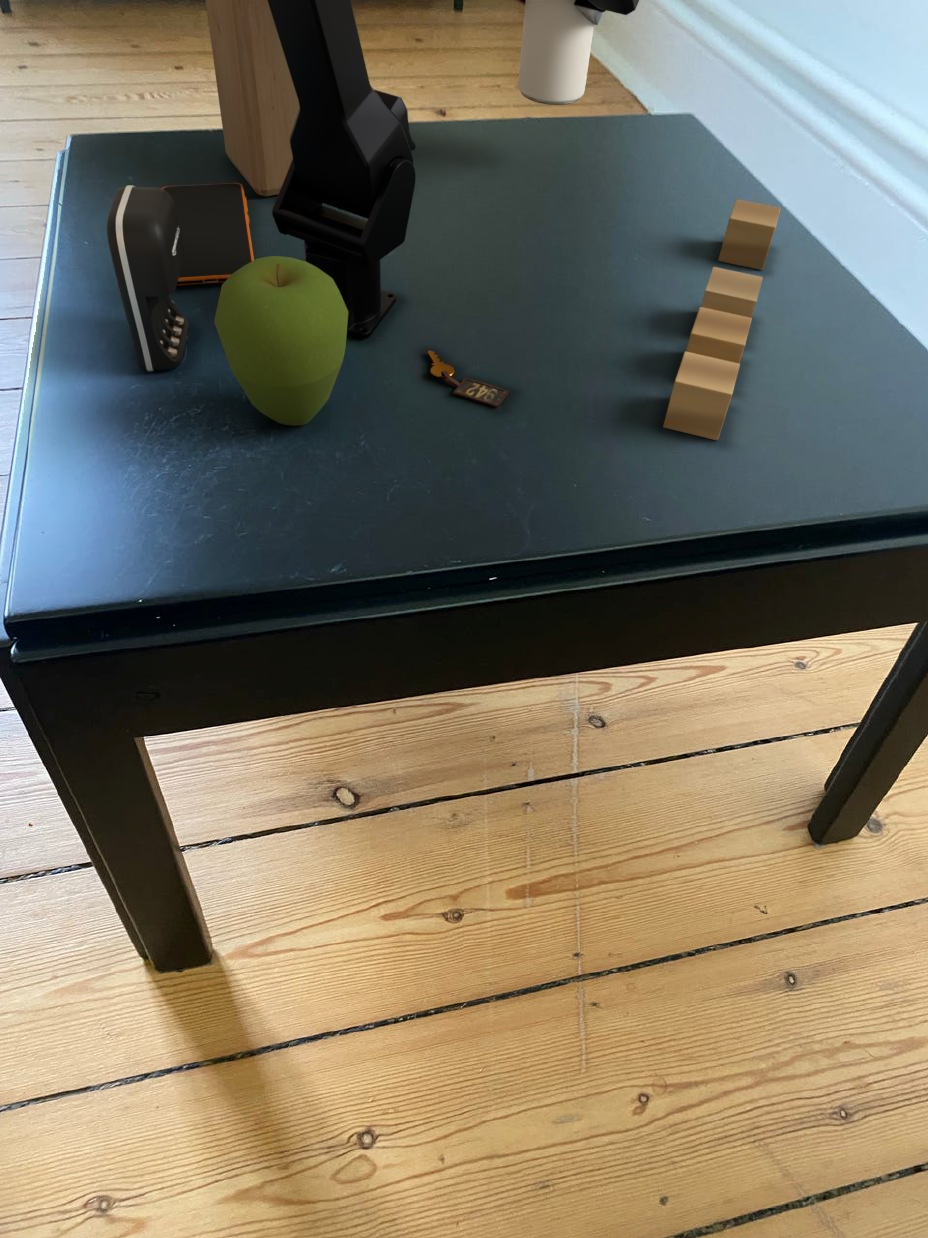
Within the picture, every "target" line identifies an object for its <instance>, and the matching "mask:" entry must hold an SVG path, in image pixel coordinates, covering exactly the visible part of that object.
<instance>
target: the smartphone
mask: <svg viewBox="0 0 928 1238" xmlns="http://www.w3.org/2000/svg"><path fill="white" fill-rule="evenodd" d="M161 189H163V190H165V191H167V192H168V193H169V194H170V196H171V197H172V199H173V201H174V204H175V207H176V211H177V215H178V219H179V223H180V228H181V232H182V237H183V242H184V247H185V253H184V257H183V261H182V265H181V269H180V274H179V278H178V282H177V286H190V285H191V286H192V285H205V284H220V283H224V282H225V281H226V280H227V279H228V278H229V277H230V276H231V275H232V274H233V273H234V272H236V271H237V270H239V269H240V268H242V267H243V266H245V265H246V264H248V263H250V262H252V261H254V260H255V257H254V249H253V243H252V235H251V230H250V224H251V221H250V215H249V214H248V213H249V208H248V201H247V196H245V189H244V185H243V184H242V183H238V182H227V183H206V184H185V185H184V184H183V185H169V186H167V185H166V186H163V187H162V188H161Z"/></svg>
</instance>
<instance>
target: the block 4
mask: <svg viewBox="0 0 928 1238" xmlns="http://www.w3.org/2000/svg"><path fill="white" fill-rule="evenodd" d="M740 367H741V363H734V362H730V361H725V360H721V359H717V358H712V357H708V356H704V355H699V354H695V353H690V352H686V351H684V353H683V355H682V359H681V362H680V365H679V368H678V371H677V373H676V375H675V379H674V382H673V387H672V390H671V395H670V398H669V402H668V405H667V410H666V414H665V418H664V422H663V425H662V427H663V428H664V429H668V430H673V431H676V432H681V433H684V434H688V435H692V436H697V437H701V438H704V439H709V440H714V441H719V438H720V435H721V432H722V429H723V426H724V422H725V420H726V416H727V414H728V409H729V406H730V403H731V400H732V396H733V394H734V389H735V386H736V381H737V379H738V375H739V374H738V373H739V371H740Z"/></svg>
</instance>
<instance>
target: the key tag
mask: <svg viewBox="0 0 928 1238" xmlns="http://www.w3.org/2000/svg"><path fill="white" fill-rule="evenodd" d="M427 356H428V357H429V359H430V360H431V362H432V363H431V364H430V367H431V368H430V370H429V373H430V374H431V376H433V377H434V378H437V379H443V380H444V381H445V382H446V383H447V384H448V385H449V386H451V387H455V389H454V390H453V392H452V394H453V395H456V396H459V397H463V398H466V399H469V400H472V401H474V402H479V403H481V404H485V405H488V406H491V407H494V408H499V407H500V406H501V404H502V403H503V402H504V401H505V399H506V398H507V397H508V395H509V394H510V390H509V389H505V388H502V387H499V386H496V385H493V384H490V383H486V382H483V381H480V380H476V379H473V378H470V377H465V376H464V378H463V379H462V380H461V382H459V381H458V380H456V379H455V378H454V377H453V376H454V375H455V372H456V371H455V368H454V367H453V366H452V365H449V364H446V363H445V361H441V358H439V355H437V354H436V352H435V351H433V350H428V351H427Z"/></svg>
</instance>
